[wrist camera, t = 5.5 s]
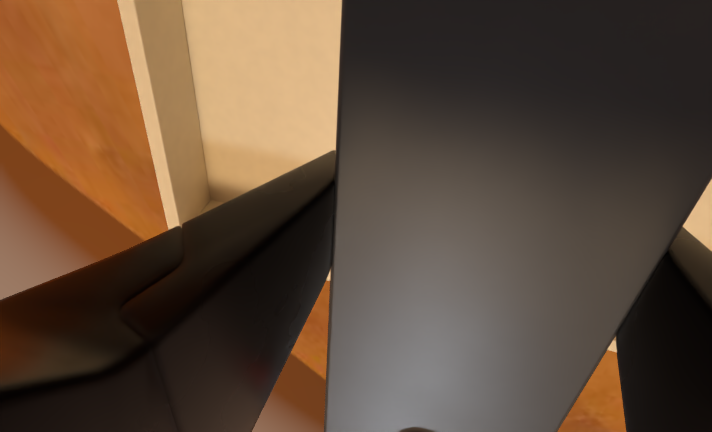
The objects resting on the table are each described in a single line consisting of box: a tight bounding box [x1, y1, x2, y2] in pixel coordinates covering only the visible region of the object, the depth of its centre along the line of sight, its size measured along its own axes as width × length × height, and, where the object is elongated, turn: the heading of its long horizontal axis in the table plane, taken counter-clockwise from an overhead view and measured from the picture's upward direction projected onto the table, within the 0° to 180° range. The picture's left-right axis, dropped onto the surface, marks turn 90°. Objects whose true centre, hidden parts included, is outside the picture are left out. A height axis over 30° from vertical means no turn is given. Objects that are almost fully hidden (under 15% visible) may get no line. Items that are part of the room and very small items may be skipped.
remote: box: [324, 0, 712, 432], centre depth 8 cm, size 15×5×3 cm, turn 177°
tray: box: [117, 0, 712, 352], centre depth 15 cm, size 23×18×3 cm
